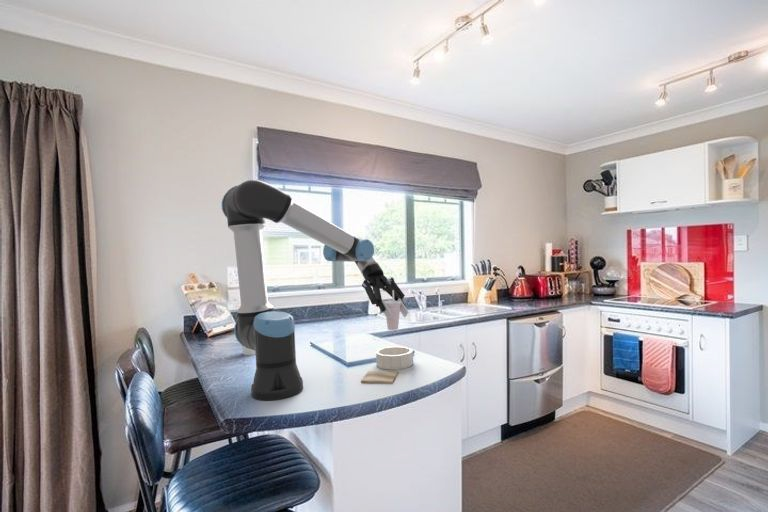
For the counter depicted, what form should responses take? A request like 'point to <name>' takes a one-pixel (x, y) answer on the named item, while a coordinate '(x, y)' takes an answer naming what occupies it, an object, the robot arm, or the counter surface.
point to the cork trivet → (380, 377)
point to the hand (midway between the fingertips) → (398, 315)
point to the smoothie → (395, 310)
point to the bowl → (394, 358)
